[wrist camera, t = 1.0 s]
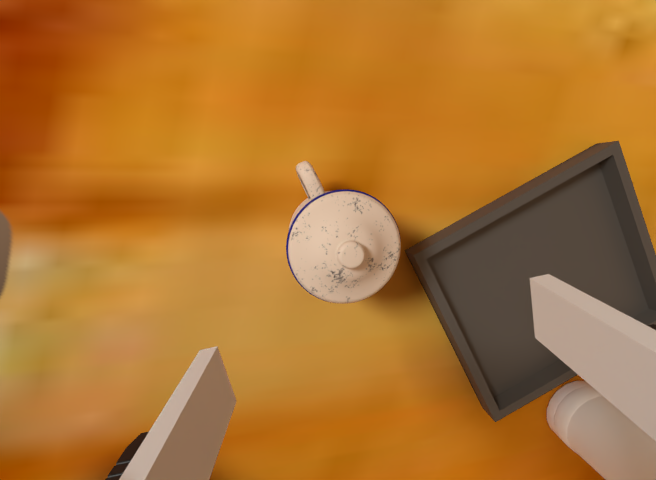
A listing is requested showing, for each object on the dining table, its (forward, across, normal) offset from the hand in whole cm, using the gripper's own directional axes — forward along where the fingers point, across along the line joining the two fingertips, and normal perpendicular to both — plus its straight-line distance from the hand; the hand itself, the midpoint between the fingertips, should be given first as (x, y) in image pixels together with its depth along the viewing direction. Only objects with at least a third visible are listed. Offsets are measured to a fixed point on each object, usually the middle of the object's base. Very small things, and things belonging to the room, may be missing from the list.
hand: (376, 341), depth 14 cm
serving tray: (+23, -20, +11) cm, 33 cm away
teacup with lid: (+22, +2, -1) cm, 22 cm away
